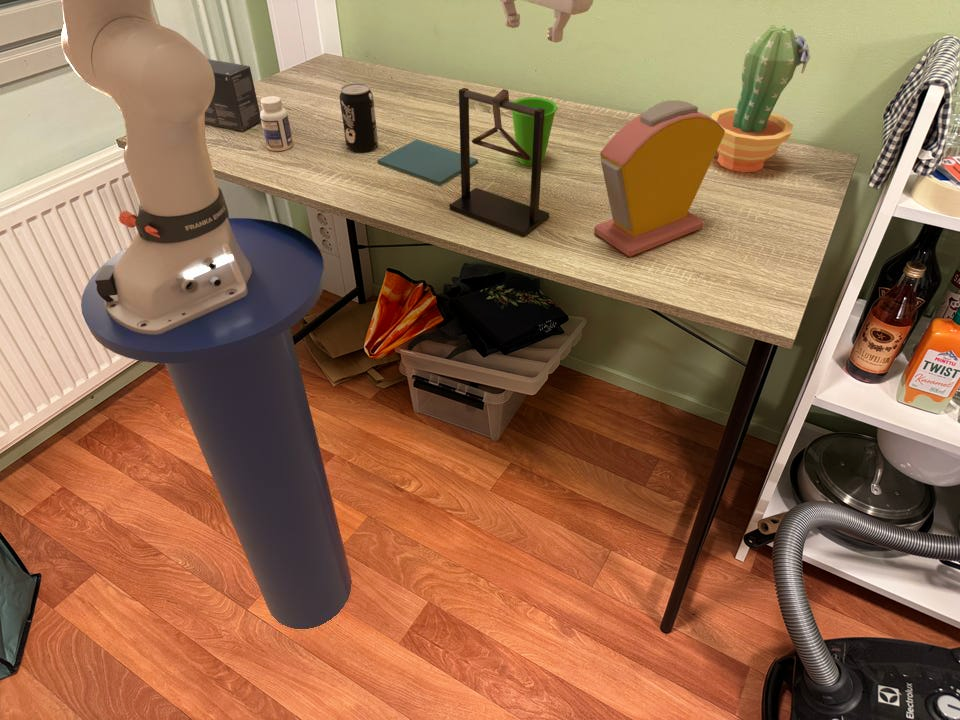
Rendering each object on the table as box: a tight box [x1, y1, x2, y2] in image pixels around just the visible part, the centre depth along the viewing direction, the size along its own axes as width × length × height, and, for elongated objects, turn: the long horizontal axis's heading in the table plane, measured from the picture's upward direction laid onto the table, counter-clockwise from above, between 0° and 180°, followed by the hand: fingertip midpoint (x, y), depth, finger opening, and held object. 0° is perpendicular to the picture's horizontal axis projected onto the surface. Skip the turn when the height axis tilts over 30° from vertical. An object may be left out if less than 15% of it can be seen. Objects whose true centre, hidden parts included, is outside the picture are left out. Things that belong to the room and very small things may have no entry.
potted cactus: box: [710, 24, 811, 173], centre depth 127 cm, size 15×15×25 cm
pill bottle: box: [260, 95, 294, 152], centre depth 138 cm, size 5×5×10 cm
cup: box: [511, 96, 558, 167], centre depth 132 cm, size 9×9×11 cm
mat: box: [377, 139, 479, 187], centre depth 135 cm, size 12×16×1 cm
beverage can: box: [339, 82, 379, 153], centre depth 137 cm, size 7×7×12 cm
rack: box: [448, 87, 550, 238], centre depth 113 cm, size 8×16×20 cm, turn 53°
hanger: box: [471, 88, 531, 161], centre depth 110 cm, size 3×12×10 cm, turn 53°
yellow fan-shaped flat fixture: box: [593, 99, 725, 258], centre depth 108 cm, size 22×9×22 cm, turn 123°
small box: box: [205, 58, 261, 132], centre depth 147 cm, size 13×7×12 cm, turn 65°
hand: (533, 33), depth 104 cm, fingers open, 8 cm apart
